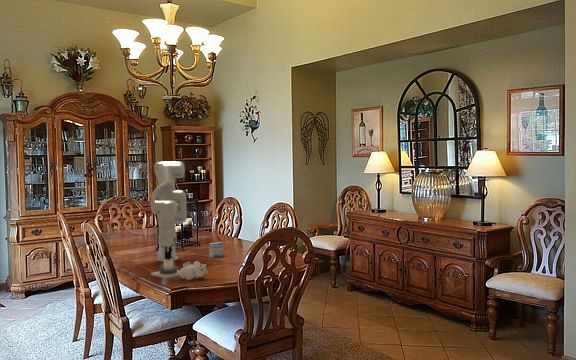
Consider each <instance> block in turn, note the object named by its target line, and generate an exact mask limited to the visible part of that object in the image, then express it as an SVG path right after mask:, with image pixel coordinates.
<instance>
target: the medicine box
mask: <svg viewBox="0 0 576 360" xmlns="http://www.w3.org/2000/svg"><path fill="white" fill-rule="evenodd" d="M208 255H209V257H210V258H211V259H212V258H220V257H223V256H224V242H221V241H218V242H209V243H208Z"/></svg>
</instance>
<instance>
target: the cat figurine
mask: <svg viewBox="0 0 576 360" xmlns="http://www.w3.org/2000/svg"><path fill="white" fill-rule="evenodd" d="M182 266H183V267H182V268H180V271H179V275H178V276H179V277H180V278H181V279H184V280H186V281H187V282H188V281H191V280H193V279H199V278H201V277H203V276H204V274H208V273H209V271H208V269H206V268H207V264H202V263H201V262H199V261H194V262H193V261H187V262H184V263H183V264H182Z"/></svg>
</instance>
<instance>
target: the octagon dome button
mask: <svg viewBox="0 0 576 360" xmlns="http://www.w3.org/2000/svg"><path fill="white" fill-rule="evenodd" d="M180 270H181V269H180ZM180 270H179V269H178V267H174V266H173V270H168V271H165V270H164V267H161V268H159V271H154V272H150V276H154V277H159V278H164V279H171V278H175V277H178V276H179V271H180Z"/></svg>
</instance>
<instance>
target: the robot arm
mask: <svg viewBox="0 0 576 360" xmlns="http://www.w3.org/2000/svg"><path fill="white" fill-rule="evenodd" d="M184 165H185V164H184V163H183V161H179V160H177V161H173V160H172V161H157V162H155V163H154V166H153V171H154V173H155V176H156V178H157V181H158V186H157V187H155V189H154V190H153V192H152V194H151V196H150V210H151V213H152V214H154V215H156V216H157V217H156V218H157V225H158V235H157V236H158V238H157V239H158V240H157V242H158V248H159V249H158V250H159V251H158V252H156V253H155V255H156V256H158V257H156V261H159V262H164V259H173V262H175V261H176V260H178V259H179V257H178V256H177V255H176V248H177V247H176V246H177V243H178V241H177V236H178V235H177V230H176V224H185V223H186V221H187V217H188V214H187V211H188V210H187V195H186V192H185V191H184V190H182V189H174V188H175V179H181V178H184V176H185V171H186V169H185V166H184ZM158 198H159V199H158ZM157 199H158V200H157Z"/></svg>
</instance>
